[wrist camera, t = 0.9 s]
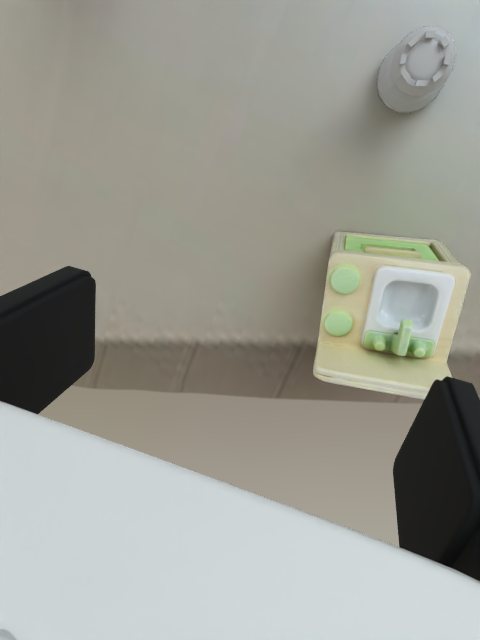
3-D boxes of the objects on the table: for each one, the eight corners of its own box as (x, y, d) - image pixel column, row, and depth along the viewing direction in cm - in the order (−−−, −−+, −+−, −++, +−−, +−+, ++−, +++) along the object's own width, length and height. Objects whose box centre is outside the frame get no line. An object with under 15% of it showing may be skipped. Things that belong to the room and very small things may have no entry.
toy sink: (446, 232, 32) (493, 288, 20) (425, 317, 35) (455, 407, 23) (335, 222, 34) (321, 268, 22) (325, 303, 37) (307, 380, 25)
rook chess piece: (391, 125, 30) (400, 123, 23) (366, 66, 29) (366, 45, 22) (455, 88, 28) (486, 73, 21) (430, 23, 27) (453, -15, 20)
